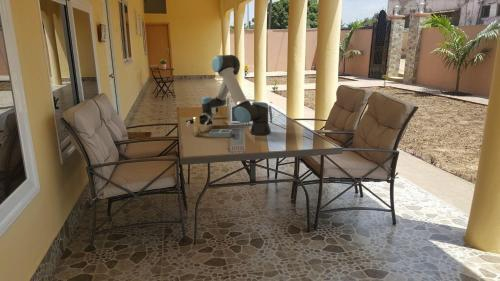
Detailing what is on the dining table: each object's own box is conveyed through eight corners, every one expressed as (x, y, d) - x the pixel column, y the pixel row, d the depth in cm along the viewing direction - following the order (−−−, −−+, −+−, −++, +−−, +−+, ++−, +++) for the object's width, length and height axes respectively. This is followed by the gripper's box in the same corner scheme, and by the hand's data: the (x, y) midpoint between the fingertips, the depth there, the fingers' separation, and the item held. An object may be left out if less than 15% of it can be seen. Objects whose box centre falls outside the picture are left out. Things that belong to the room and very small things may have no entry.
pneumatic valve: (218, 118, 328) (217, 105, 325) (205, 119, 326) (204, 106, 323) (217, 117, 333) (217, 104, 330) (204, 118, 331) (204, 105, 328)
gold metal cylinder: (201, 135, 271) (200, 116, 268) (199, 136, 267) (198, 117, 263) (195, 135, 272) (194, 116, 268) (193, 136, 268) (192, 117, 264)
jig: (232, 134, 273) (232, 129, 272) (229, 137, 263) (229, 132, 262) (212, 133, 275) (212, 129, 274) (209, 137, 265) (208, 132, 264)
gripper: (219, 123, 286) (213, 130, 266) (188, 123, 290) (179, 129, 269) (219, 114, 284) (212, 120, 264) (188, 114, 288) (179, 119, 267)
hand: (196, 124), depth 266 cm, fingers open, 13 cm apart
